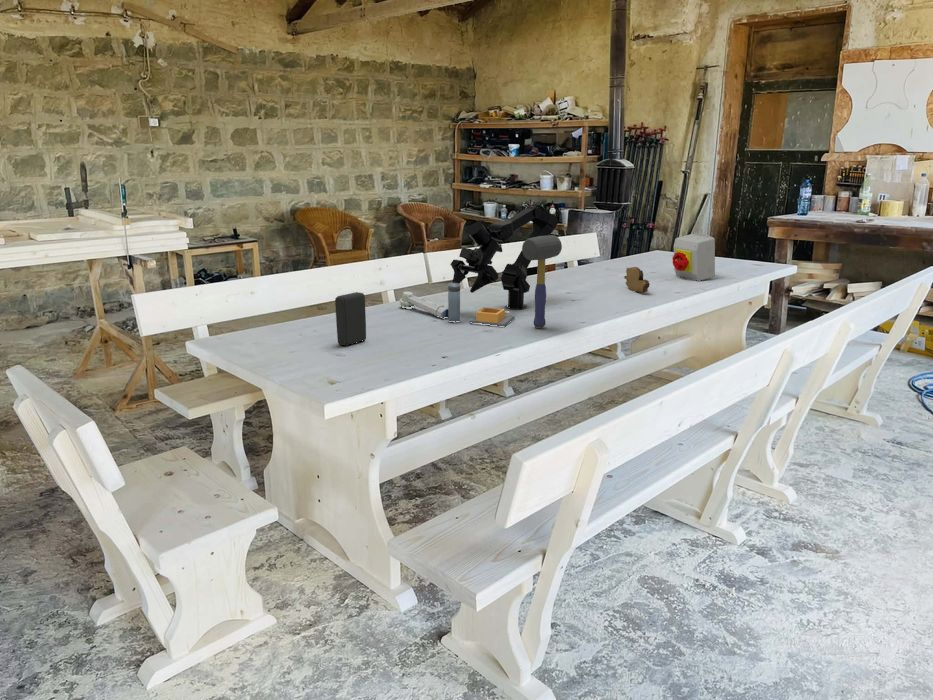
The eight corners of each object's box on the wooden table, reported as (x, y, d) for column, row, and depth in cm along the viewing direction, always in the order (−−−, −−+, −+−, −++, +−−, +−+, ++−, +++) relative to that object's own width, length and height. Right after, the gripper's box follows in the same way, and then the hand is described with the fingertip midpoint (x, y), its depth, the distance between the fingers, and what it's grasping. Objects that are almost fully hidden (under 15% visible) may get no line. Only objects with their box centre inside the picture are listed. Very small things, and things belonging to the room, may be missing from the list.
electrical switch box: (665, 281, 314) (664, 237, 307) (691, 274, 319) (690, 231, 312) (688, 287, 301) (687, 242, 294) (715, 279, 306) (714, 235, 299)
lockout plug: (450, 319, 237) (450, 282, 233) (462, 320, 236) (462, 283, 232) (446, 322, 234) (446, 284, 230) (457, 323, 232) (457, 285, 228)
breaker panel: (482, 316, 242) (482, 304, 241) (514, 319, 238) (515, 307, 237) (469, 324, 232) (469, 311, 231) (503, 327, 228) (504, 315, 226)
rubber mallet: (543, 322, 234) (546, 233, 225) (560, 326, 229) (564, 235, 220) (517, 329, 226) (520, 236, 217) (535, 333, 221) (538, 238, 212)
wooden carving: (652, 295, 276) (654, 270, 273) (643, 296, 274) (645, 270, 271) (628, 287, 291) (630, 263, 288) (619, 288, 289) (621, 264, 286)
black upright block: (359, 338, 215) (357, 291, 210) (368, 340, 212) (366, 292, 208) (336, 345, 208) (333, 296, 204) (345, 347, 206) (342, 297, 201)
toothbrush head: (441, 310, 235) (397, 288, 252) (439, 328, 238) (396, 306, 254) (453, 307, 239) (408, 286, 255) (451, 325, 241) (407, 304, 258)
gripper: (454, 236, 239) (430, 271, 235) (493, 241, 226) (468, 279, 222) (470, 256, 247) (447, 291, 242) (509, 262, 234) (485, 299, 230)
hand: (461, 289), depth 234 cm, fingers open, 9 cm apart
